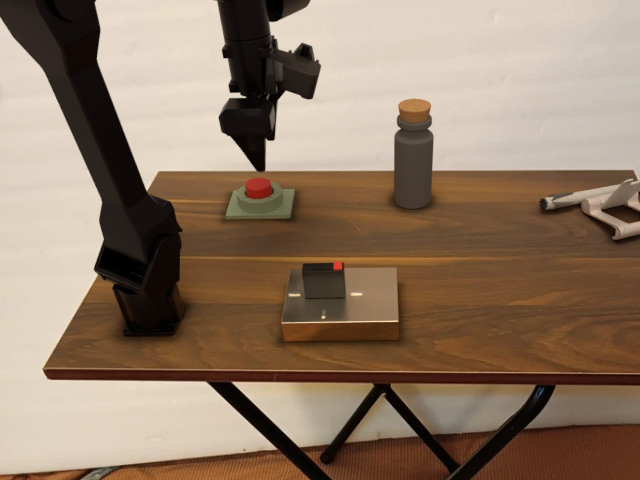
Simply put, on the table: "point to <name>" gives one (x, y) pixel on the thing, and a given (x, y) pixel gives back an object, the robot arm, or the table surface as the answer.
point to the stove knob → (324, 280)
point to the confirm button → (258, 188)
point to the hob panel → (344, 308)
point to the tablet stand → (620, 196)
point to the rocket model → (574, 197)
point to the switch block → (261, 204)
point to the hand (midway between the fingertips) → (266, 155)
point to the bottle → (413, 154)
